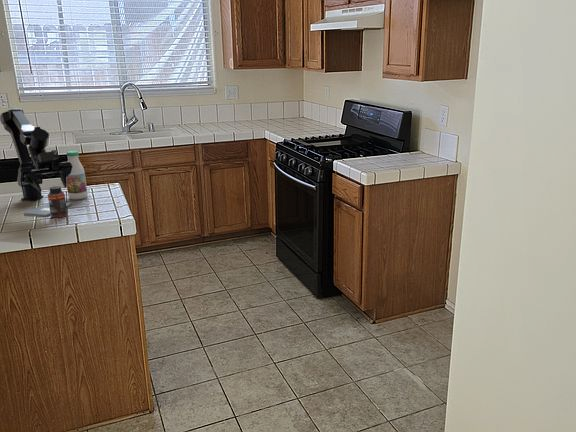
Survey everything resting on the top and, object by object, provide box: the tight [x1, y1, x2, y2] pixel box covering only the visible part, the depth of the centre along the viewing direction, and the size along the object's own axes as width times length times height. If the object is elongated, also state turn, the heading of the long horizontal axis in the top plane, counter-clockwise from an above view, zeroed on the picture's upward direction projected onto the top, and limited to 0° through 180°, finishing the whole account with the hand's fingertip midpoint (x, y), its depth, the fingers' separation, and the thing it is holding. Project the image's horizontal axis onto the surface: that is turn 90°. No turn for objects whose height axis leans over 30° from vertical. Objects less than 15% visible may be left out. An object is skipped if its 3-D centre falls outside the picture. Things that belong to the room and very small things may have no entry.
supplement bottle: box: [47, 185, 68, 219], centre depth 193 cm, size 6×6×11 cm
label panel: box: [23, 202, 73, 218], centre depth 202 cm, size 10×16×1 cm, turn 167°
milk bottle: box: [66, 150, 88, 200], centre depth 217 cm, size 8×8×20 cm
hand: (53, 189), depth 194 cm, fingers open, 9 cm apart
